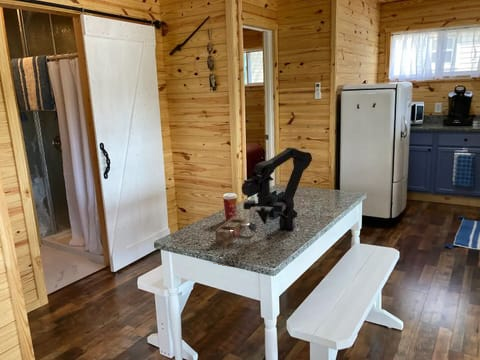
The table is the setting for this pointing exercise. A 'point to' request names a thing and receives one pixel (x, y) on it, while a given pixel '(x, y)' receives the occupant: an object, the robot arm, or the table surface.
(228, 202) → the paper cup
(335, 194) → the table surface
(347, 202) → the table surface
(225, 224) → the mount
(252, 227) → the charcoal knob
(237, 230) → the brick knob
